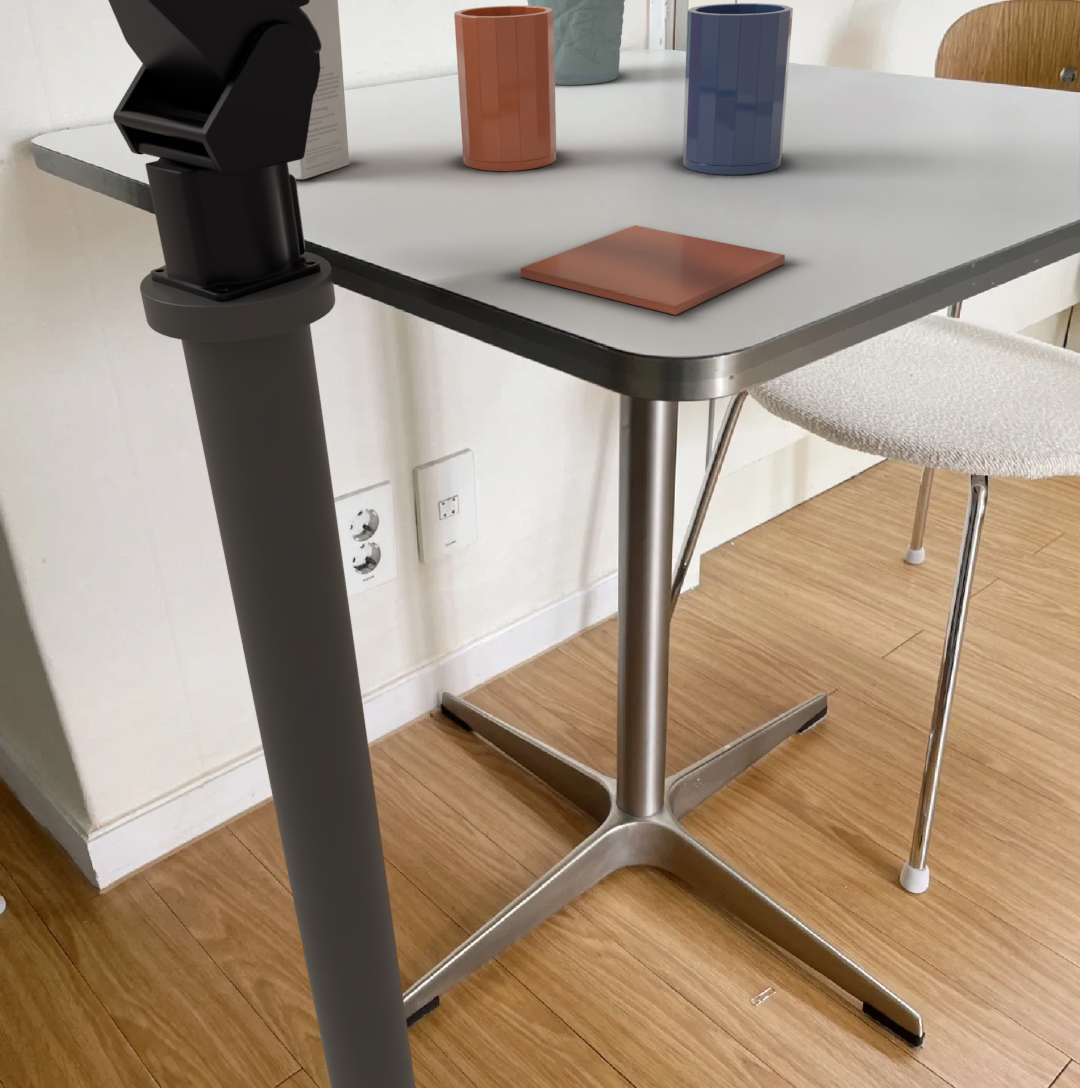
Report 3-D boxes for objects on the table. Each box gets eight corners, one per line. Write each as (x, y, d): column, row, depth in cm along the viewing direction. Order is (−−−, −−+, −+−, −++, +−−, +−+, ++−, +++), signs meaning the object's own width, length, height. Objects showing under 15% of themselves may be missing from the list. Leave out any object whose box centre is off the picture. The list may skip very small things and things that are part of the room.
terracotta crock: (512, 175, 80) (506, 19, 75) (444, 163, 84) (433, 14, 79) (574, 157, 84) (572, 8, 79) (506, 146, 88) (500, 4, 83)
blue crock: (746, 179, 77) (756, 17, 72) (664, 166, 81) (668, 11, 76) (798, 160, 82) (811, 6, 76) (717, 149, 85) (725, 1, 80)
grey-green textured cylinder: (523, 72, 119) (519, -58, 113) (620, 67, 120) (620, -62, 114) (532, 88, 110) (528, -52, 104) (636, 83, 111) (638, -56, 105)
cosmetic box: (216, 172, 84) (177, -57, 76) (269, 155, 88) (237, -64, 81) (308, 182, 80) (277, -58, 73) (359, 164, 85) (334, -64, 77)
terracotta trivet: (675, 315, 55) (676, 305, 55) (520, 277, 61) (519, 267, 60) (784, 263, 61) (785, 254, 61) (634, 233, 67) (634, 224, 67)
